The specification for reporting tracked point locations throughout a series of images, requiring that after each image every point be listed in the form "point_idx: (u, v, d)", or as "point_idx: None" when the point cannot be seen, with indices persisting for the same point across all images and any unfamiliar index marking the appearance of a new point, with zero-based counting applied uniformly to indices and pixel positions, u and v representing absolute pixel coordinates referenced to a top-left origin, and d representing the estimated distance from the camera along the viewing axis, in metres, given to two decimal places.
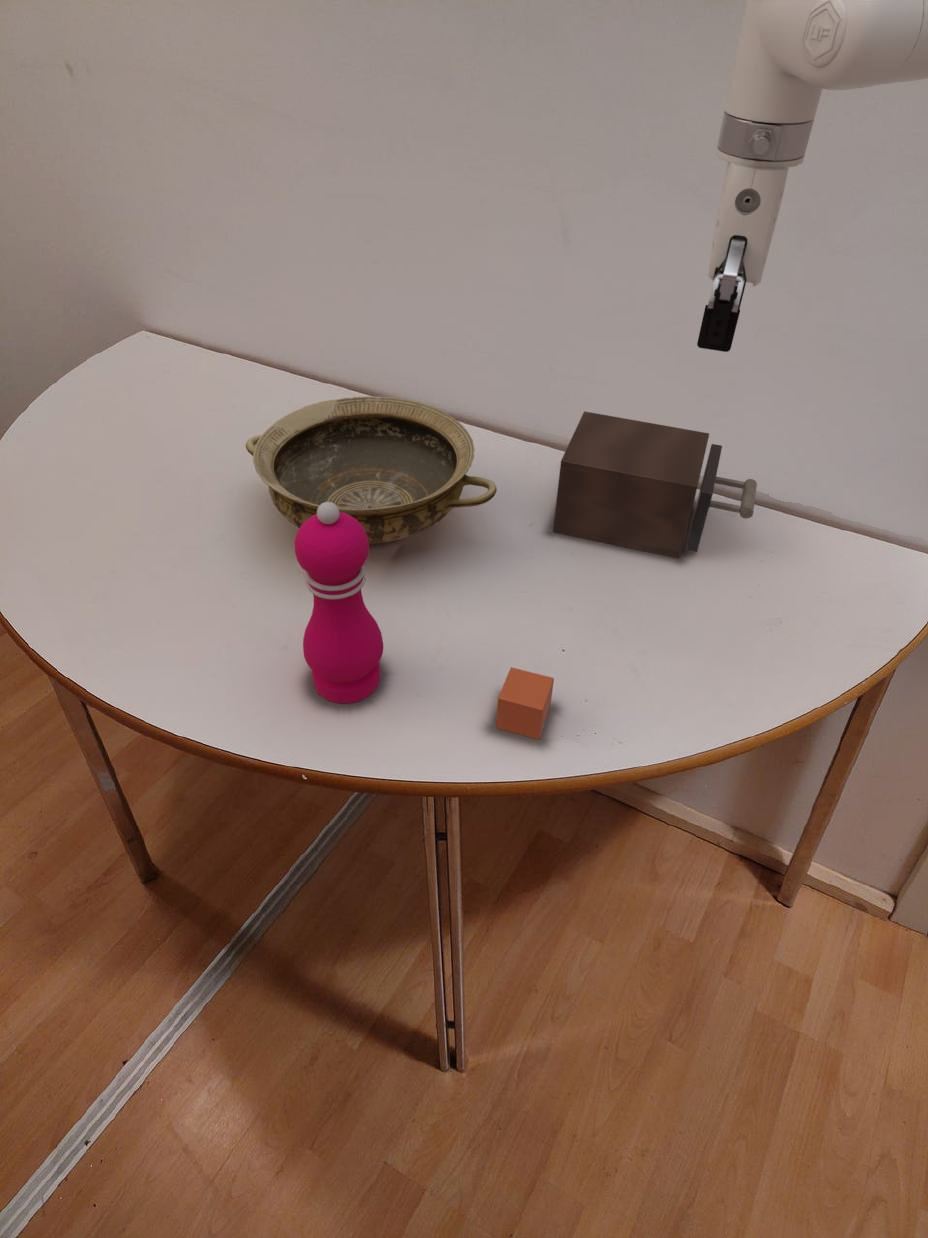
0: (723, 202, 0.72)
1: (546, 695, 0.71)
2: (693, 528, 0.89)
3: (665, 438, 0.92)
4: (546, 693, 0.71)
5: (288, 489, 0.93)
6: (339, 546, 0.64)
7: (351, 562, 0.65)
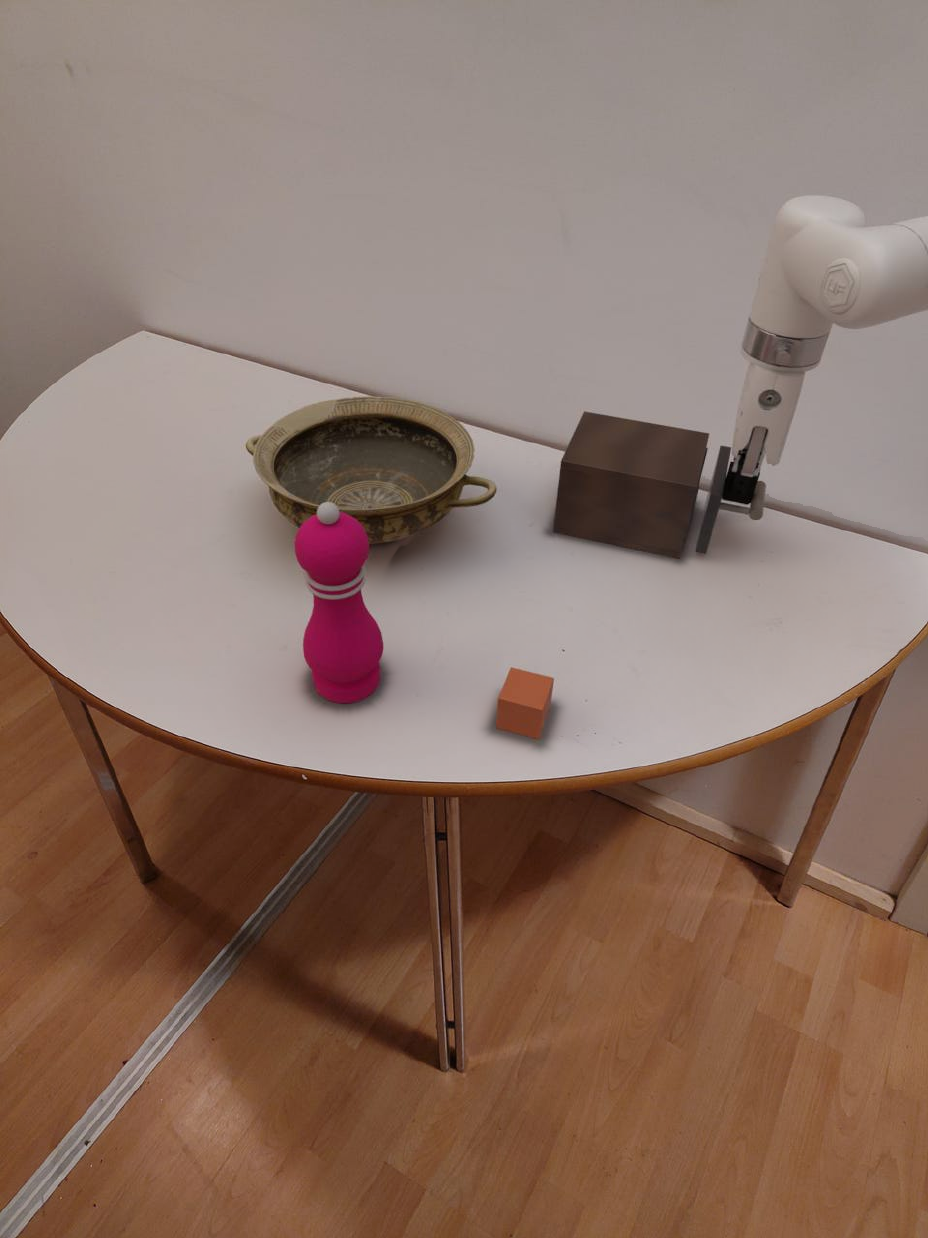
0: (747, 397, 0.79)
1: (546, 695, 0.71)
2: (702, 530, 0.89)
3: (665, 438, 0.92)
4: (546, 693, 0.71)
5: (288, 489, 0.93)
6: (339, 546, 0.64)
7: (351, 562, 0.65)
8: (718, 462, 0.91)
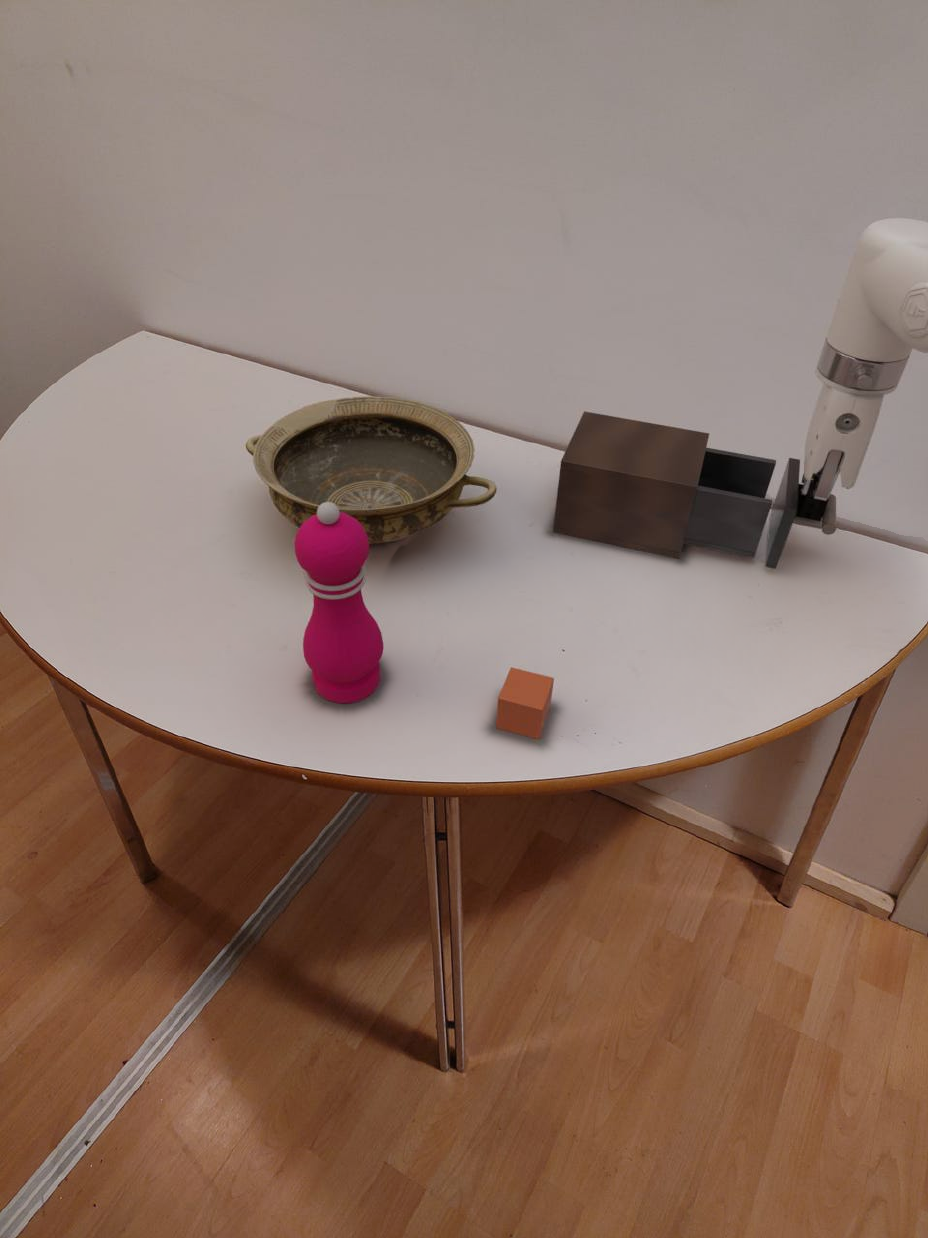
0: (823, 421, 0.78)
1: (546, 695, 0.71)
2: (774, 544, 0.87)
3: (665, 438, 0.92)
4: (546, 693, 0.71)
5: (288, 489, 0.93)
6: (339, 546, 0.64)
7: (351, 562, 0.65)
8: (789, 475, 0.89)
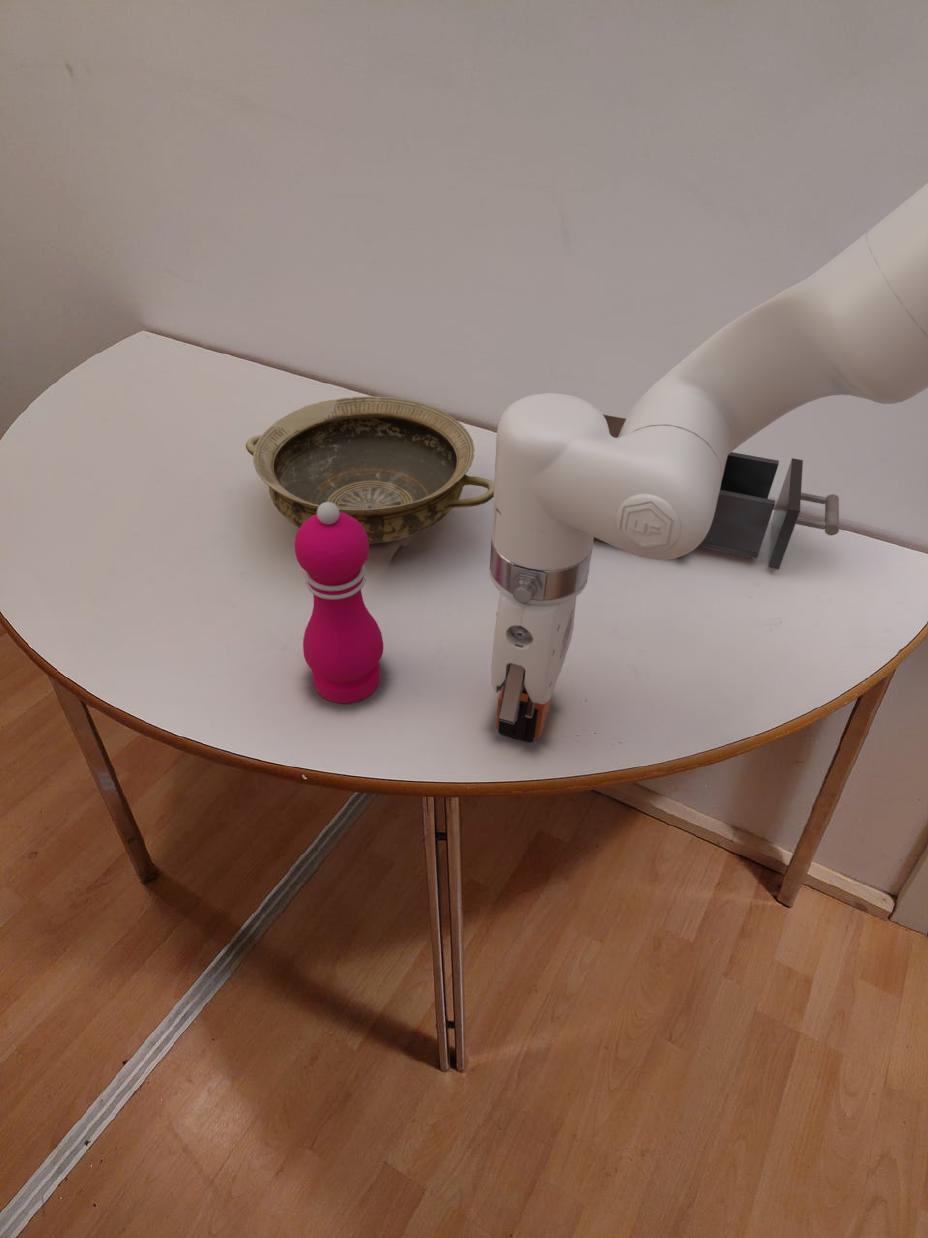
0: (495, 629, 0.62)
1: None
2: (777, 545, 0.87)
3: None
4: None
5: (288, 489, 0.93)
6: (339, 546, 0.64)
7: (351, 562, 0.65)
8: (791, 476, 0.89)
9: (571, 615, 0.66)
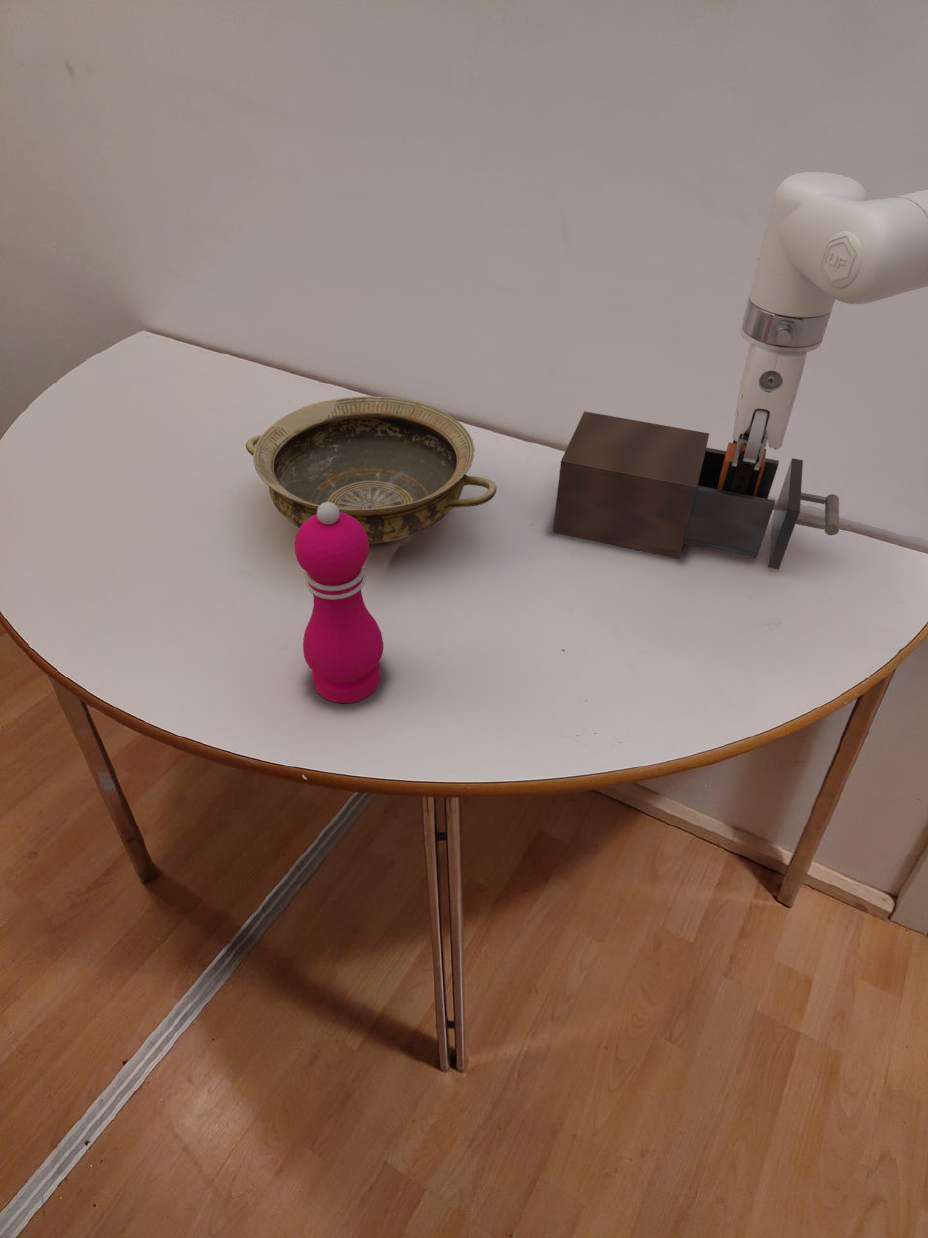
0: (748, 379, 0.78)
1: (764, 458, 0.87)
2: (777, 545, 0.87)
3: (665, 438, 0.92)
4: (763, 457, 0.87)
5: (288, 489, 0.93)
6: (339, 546, 0.64)
7: (351, 562, 0.65)
8: (791, 476, 0.89)
9: None
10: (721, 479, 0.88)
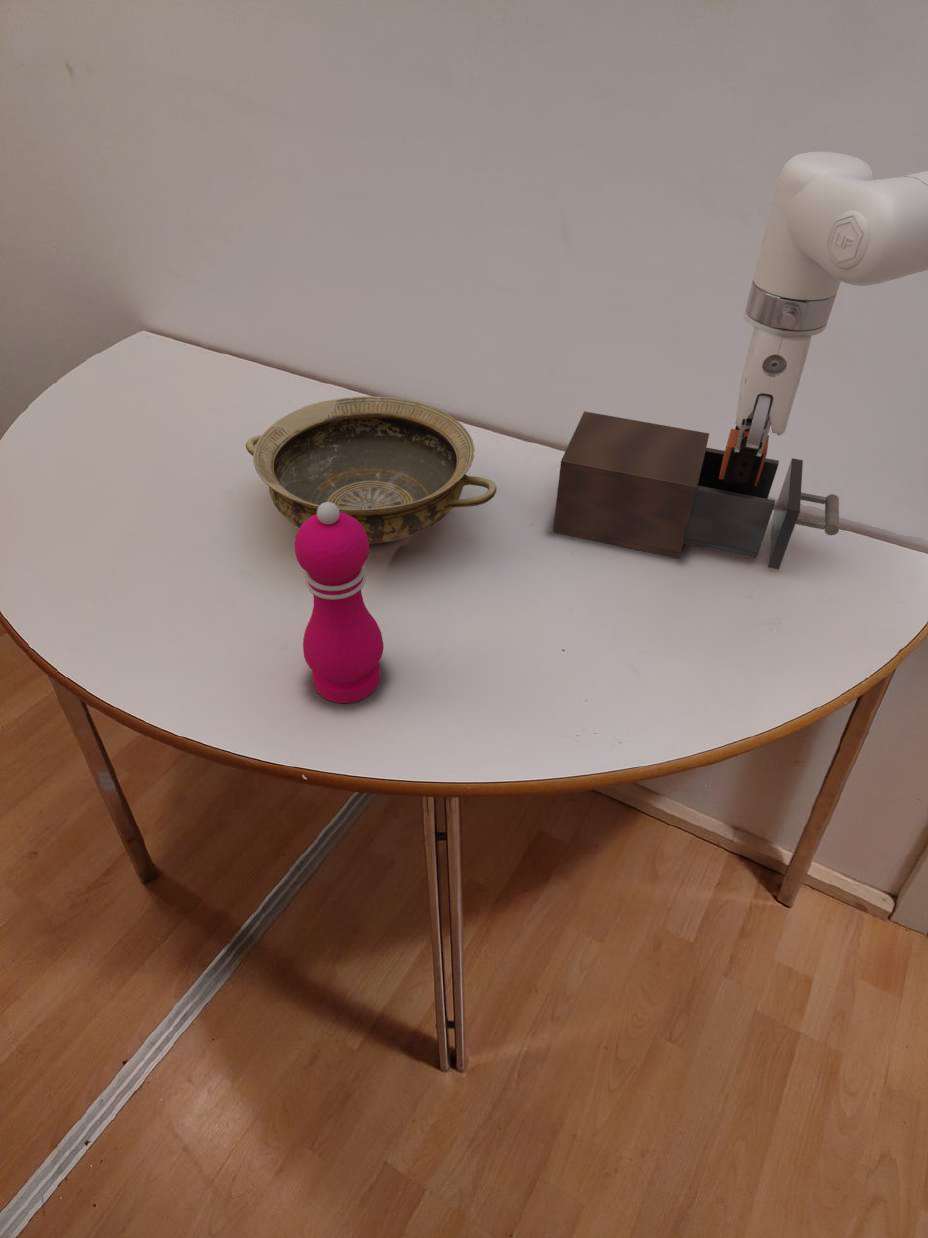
0: (751, 364, 0.77)
1: (766, 445, 0.86)
2: (777, 545, 0.87)
3: (665, 438, 0.92)
4: (766, 444, 0.86)
5: (288, 489, 0.93)
6: (339, 546, 0.64)
7: (351, 562, 0.65)
8: (791, 476, 0.89)
9: None
10: (723, 466, 0.87)
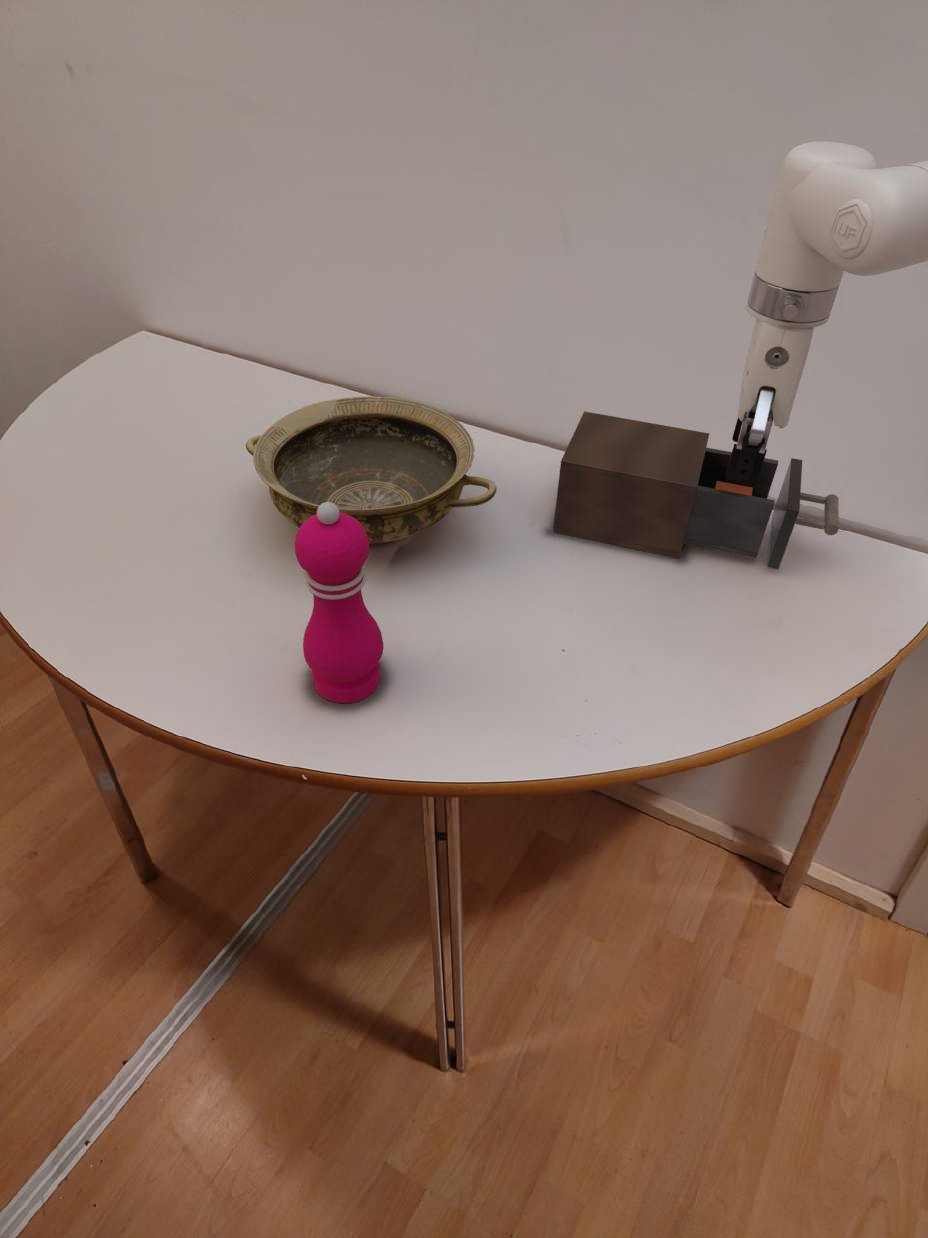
0: (753, 356, 0.76)
1: None
2: (776, 545, 0.87)
3: (665, 438, 0.92)
4: None
5: (288, 489, 0.93)
6: (339, 546, 0.64)
7: (351, 562, 0.65)
8: (791, 475, 0.89)
9: None
10: None
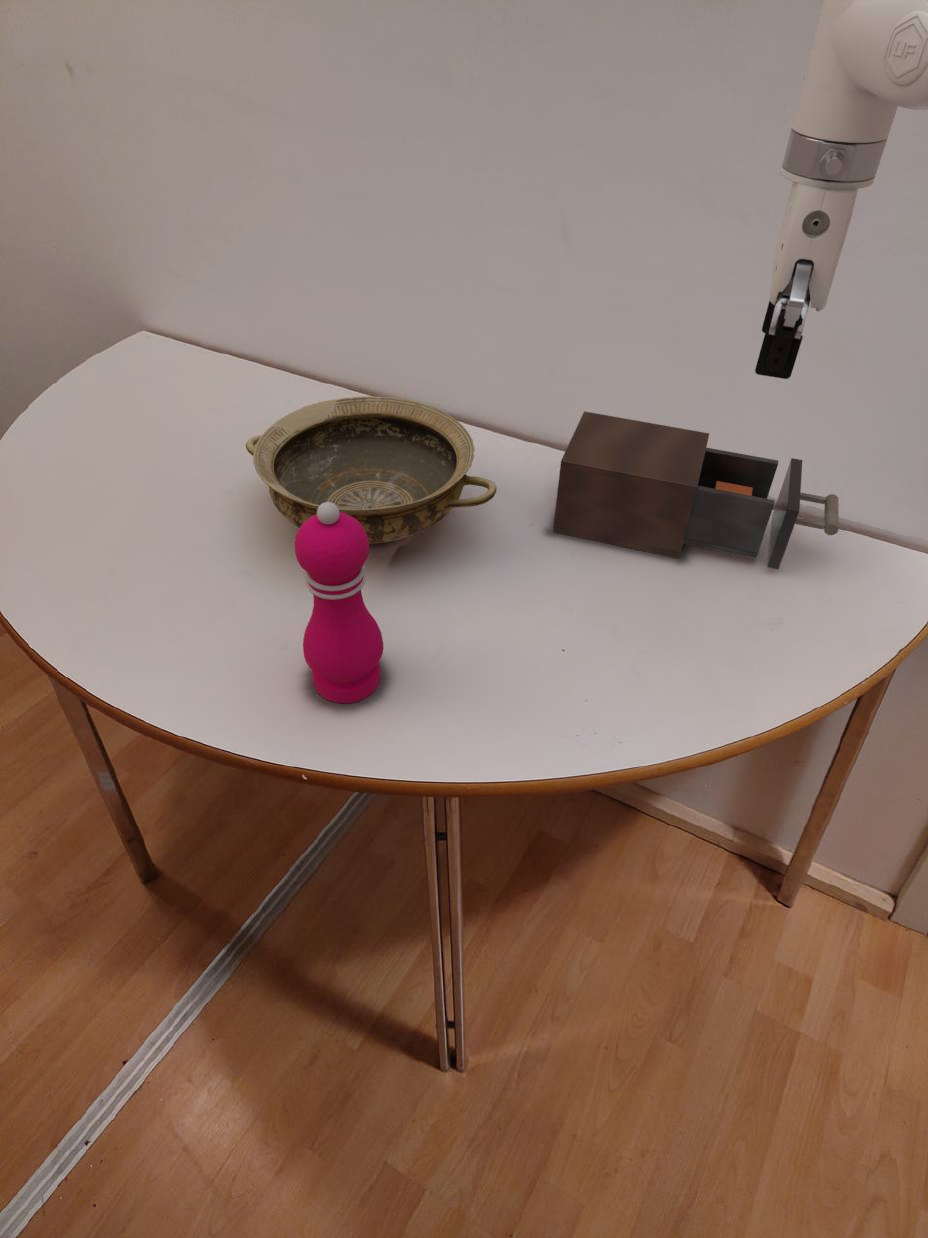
0: (789, 224, 0.69)
1: None
2: (776, 545, 0.87)
3: (665, 438, 0.92)
4: None
5: (288, 489, 0.93)
6: (339, 546, 0.64)
7: (351, 562, 0.65)
8: (791, 475, 0.89)
9: None
10: None
